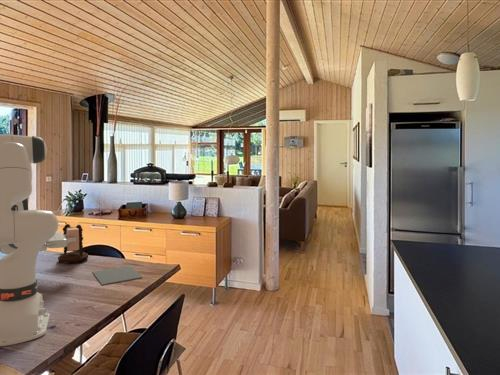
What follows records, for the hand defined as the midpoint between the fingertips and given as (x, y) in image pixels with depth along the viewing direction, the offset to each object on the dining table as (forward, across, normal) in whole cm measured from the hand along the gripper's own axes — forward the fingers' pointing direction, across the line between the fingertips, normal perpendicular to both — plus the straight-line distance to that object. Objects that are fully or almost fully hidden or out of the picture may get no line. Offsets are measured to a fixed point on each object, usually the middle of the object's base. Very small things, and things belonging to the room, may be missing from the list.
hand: (75, 237), depth 170 cm
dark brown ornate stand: (+3, +25, +18) cm, 31 cm away
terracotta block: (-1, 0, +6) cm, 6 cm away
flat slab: (+16, -11, +18) cm, 27 cm away
